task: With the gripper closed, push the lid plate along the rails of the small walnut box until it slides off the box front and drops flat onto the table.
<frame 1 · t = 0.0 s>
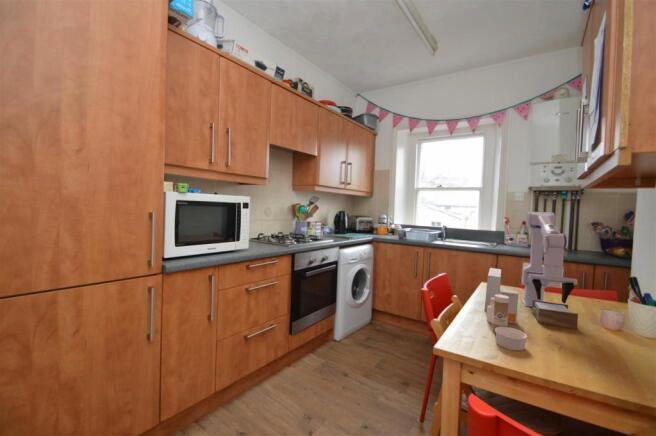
hand: (551, 300, 111), 10 cm above the table, fingers open, 7 cm apart
case: (553, 320, 117), on the table
lid: (552, 310, 117), point 4 cm above the table, touching case
ramekin: (510, 345, 95), on the table
skincare box 2: (492, 306, 134), on the table
sprinkles bottle: (499, 333, 104), on the table
skincare box: (507, 321, 116), on the table
salt shaker: (494, 323, 113), on the table
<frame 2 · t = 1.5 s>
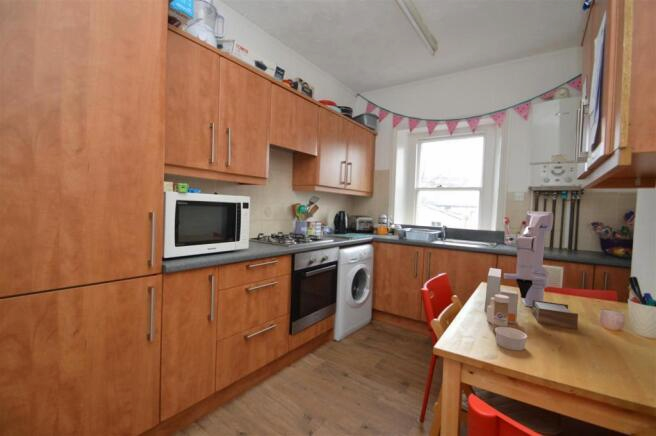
hand: (523, 297, 121), 8 cm above the table, fingers closed
nothing on the table moved.
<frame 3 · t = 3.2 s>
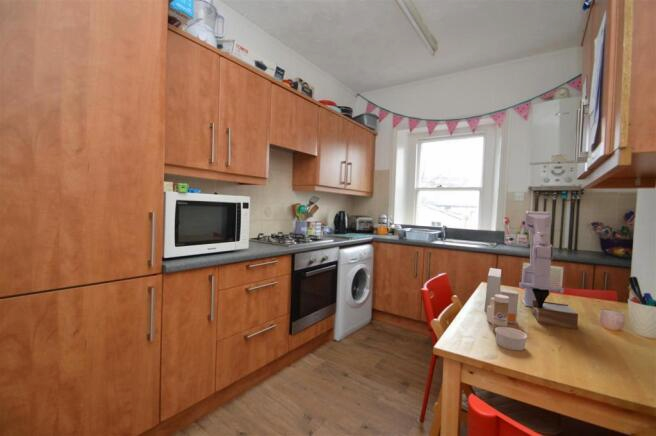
hand: (539, 307, 119), 5 cm above the table, fingers closed
lid: (557, 311, 117), point 4 cm above the table, touching case, gripper
everything else where it was.
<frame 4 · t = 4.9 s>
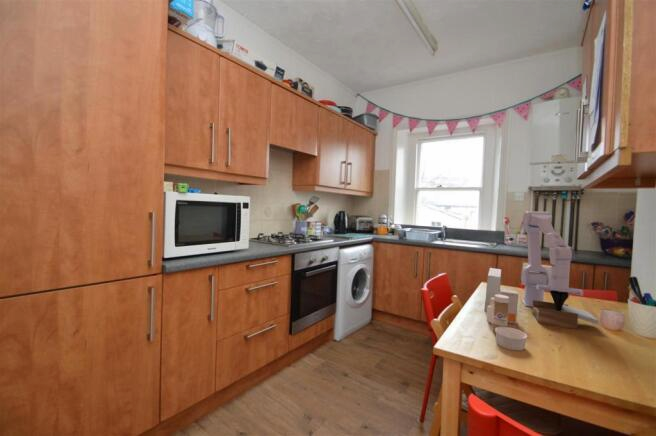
hand: (557, 310, 117), 5 cm above the table, fingers closed
lid: (575, 314, 114), point 4 cm above the table, tilted 11°, touching gripper
everything else where it was.
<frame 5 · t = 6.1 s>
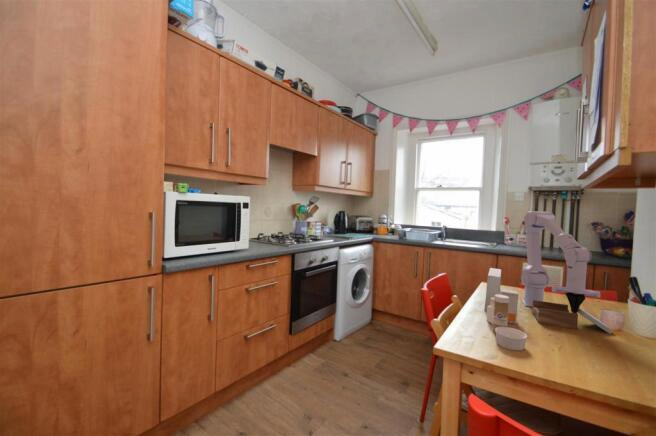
hand: (574, 312, 114), 5 cm above the table, fingers closed
lid: (590, 320, 112), point 3 cm above the table, tilted 32°, touching gripper
everything else where it was.
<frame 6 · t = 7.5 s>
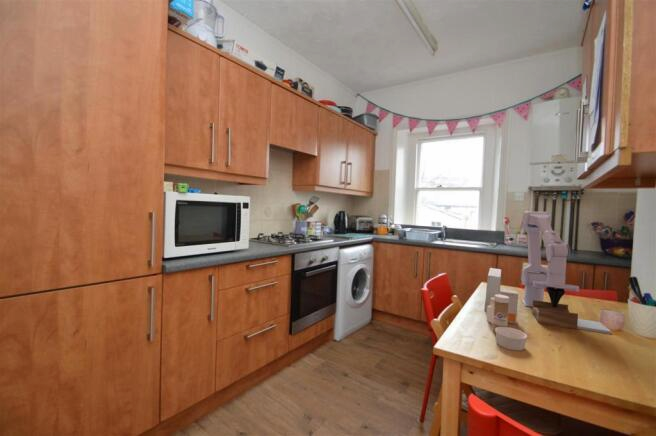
hand: (554, 306, 117), 6 cm above the table, fingers closed
lid: (588, 327, 113), on the table
everything else where it was.
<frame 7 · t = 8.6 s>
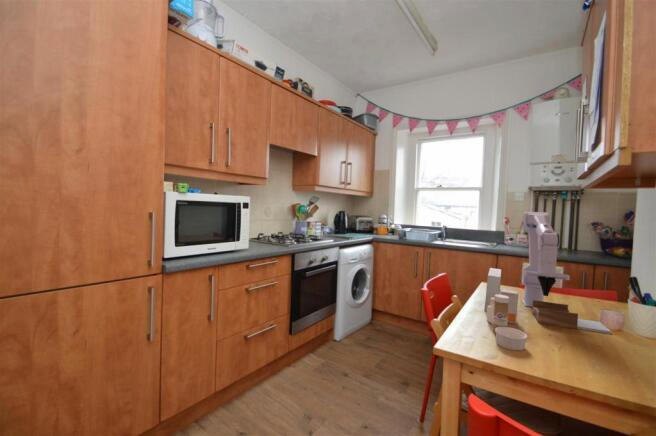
hand: (545, 295, 118), 10 cm above the table, fingers closed
nothing on the table moved.
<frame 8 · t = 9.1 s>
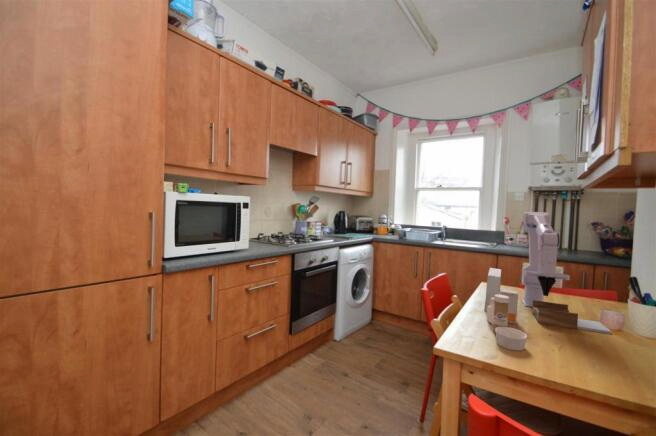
hand: (545, 295, 118), 10 cm above the table, fingers closed
nothing on the table moved.
at the end: lid inside the target area (3.9 cm from its centre), on the table; lid touching table; lid moved 12.5 cm from its start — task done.
